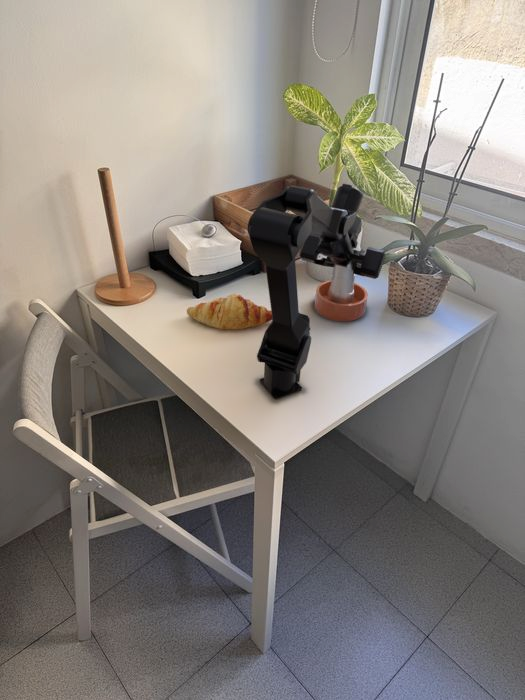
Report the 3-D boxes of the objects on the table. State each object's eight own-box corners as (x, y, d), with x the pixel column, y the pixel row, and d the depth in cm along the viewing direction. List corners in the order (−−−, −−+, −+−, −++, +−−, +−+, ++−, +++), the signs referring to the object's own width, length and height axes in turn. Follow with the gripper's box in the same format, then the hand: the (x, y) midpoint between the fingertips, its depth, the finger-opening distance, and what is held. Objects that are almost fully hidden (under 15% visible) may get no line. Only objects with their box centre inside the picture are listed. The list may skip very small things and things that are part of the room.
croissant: (186, 336, 122) (181, 320, 115) (190, 300, 126) (186, 282, 119) (274, 339, 121) (275, 323, 114) (276, 303, 125) (276, 285, 118)
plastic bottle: (343, 296, 131) (355, 222, 120) (357, 309, 126) (370, 233, 114) (321, 300, 129) (330, 225, 117) (334, 314, 124) (345, 236, 112)
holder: (334, 326, 121) (336, 310, 119) (304, 301, 130) (306, 286, 127) (375, 313, 127) (378, 298, 124) (344, 290, 135) (346, 275, 133)
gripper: (391, 216, 106) (395, 246, 121) (308, 199, 112) (322, 229, 127) (373, 266, 105) (380, 290, 119) (291, 245, 111) (306, 270, 126)
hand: (346, 268), depth 123 cm, fingers closed on plastic bottle, 6 cm apart
